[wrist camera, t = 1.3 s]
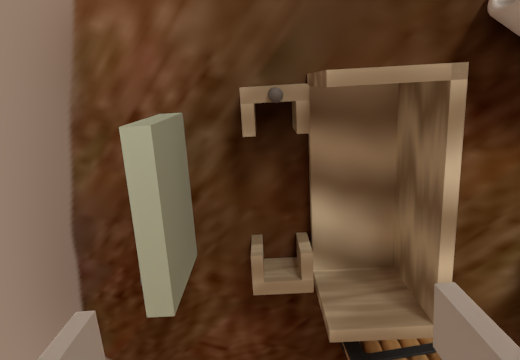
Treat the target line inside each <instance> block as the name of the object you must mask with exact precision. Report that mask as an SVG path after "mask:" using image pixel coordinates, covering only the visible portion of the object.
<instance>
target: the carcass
mask: <svg viewBox="0 0 520 360" xmlns="http://www.w3.org/2000/svg"><path fill="white" fill-rule="evenodd" d="M468 67H469V62H459V63H442V64H424V65H407V66H390V67H373V68H355V69H338V70H325V71H319V72H314V73H308V74H307V84H287V85H270V86H252V87H241V88H239V89H240V104H241V119H242V134H243V137H253V136H256V115H255V103H269V102H273V103H278V102H287V101H292V127H293V129H294V130H295V132H296V133H297V134H307V133H308V135H309V176H310V218H311V245H310V242H309V238H308V235H307V232H302V233H296V245H297V257H286V258H266V259H264V253H263V236H262V235H252V243H251V268H252V282H253V295H271V294H291V293H312V292H314V285H315V289H316V292H317V296H318V300H319V304H320V308H321V311H322V315H323V319H324V323H325V327H326V330H327V334H328V338H329V342H330V343H331V342H352V341H374V340H395V339H417V338H433V320H434V284H437V283H450V282H452V276H453V263H454V250H455V237H456V224H457V211H458V198H459V185H460V172H461V159H462V146H463V132H464V119H465V106H466V93H467V80H468Z"/></svg>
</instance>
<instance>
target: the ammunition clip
mask: <svg viewBox="0 0 520 360" xmlns="http://www.w3.org/2000/svg"><path fill="white" fill-rule="evenodd" d="M341 346H342V349H343V351H344V354H345V356H346V359H347V360H442V359H441V357H440V356H439V354H438V353H437V351H436V350H435V348H434V347H433V338H417V339H395V340H374V341H352V342H341ZM381 347H382V348H381ZM382 349H383V350H382ZM363 350H364V351H363ZM428 358H429V359H428Z"/></svg>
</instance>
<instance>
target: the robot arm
mask: <svg viewBox="0 0 520 360" xmlns="http://www.w3.org/2000/svg"><path fill="white" fill-rule="evenodd" d="M433 347H434V348H435V350H436V351H437V353H438V354H439V356H440V357H441V359H442V360H520V347H519V346H518V345H517V344H516V343H515V342H514V341H513V340H512V339H511V338H510V337H509V336H508V335H507V334H506V333H505V332H504V331H503V330H502V329H501V328H500V327H499V326H498V325H497V324H496V323H495V322H494V321H493V320H492V319H491V318H490V317H489V316H488V315H487V314H486V313H485V312H484V311H483V310H482V309H481V308H480V307H479V306H478V305H477V304H476V303H475V302H474V301H473V300H472V299H471V298H470V297H469V296H468V295H467V294H466V293H465V292H464V291H463V290H462V289H461V288H460V287H459V286H458V285H457V284H456V283H455V282H450V283H437V284H434V320H433ZM37 360H106V359H105V354H104V350H103V345H102V340H101V336H100V331H99V326H98V321H97V317H96V312H95V311H82V312H75V314H74V315H73V316H72V317H71V318H70V320H69V321H68V322H67V323H66V325H65V326H64V327H63V328H62V330H61V331H60V332H59V333H58V335H57V336H56V337H55V338H54V339H53V341H52V342H51V343H50V344H49V346H48V347H47V348H46V349H45V351H44V352H43V353H42V354H41V355H40V357H39V358H38V359H37Z"/></svg>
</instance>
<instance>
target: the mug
mask: <svg viewBox="0 0 520 360" xmlns="http://www.w3.org/2000/svg"><path fill="white" fill-rule="evenodd" d="M487 9H488V13H489V15H490V16H491V17H493V18H494V19H496V20H497V21H498V22H500V23H501V24H503V25H504V26H505V27H507V28H508V29H510V30H511V31H513V32H514V33H515V34H517V35H518V36H520V0H489V2H488V7H487Z"/></svg>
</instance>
